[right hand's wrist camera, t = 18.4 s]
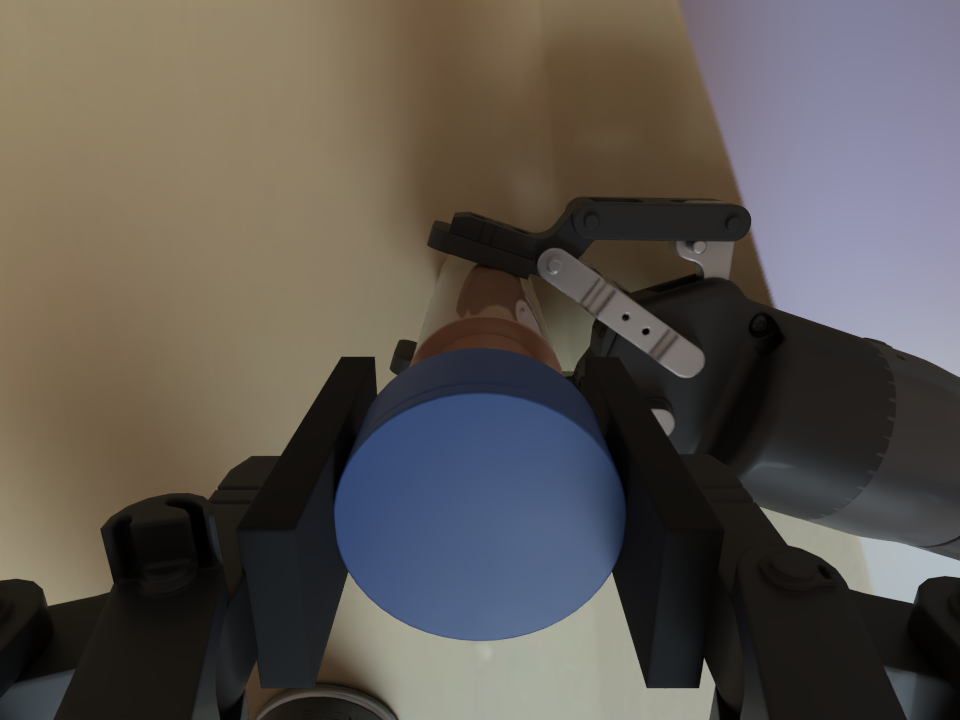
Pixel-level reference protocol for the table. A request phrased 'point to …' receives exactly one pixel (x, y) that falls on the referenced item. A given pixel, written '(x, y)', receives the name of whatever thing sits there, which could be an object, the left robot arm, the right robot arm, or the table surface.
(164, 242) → the table surface
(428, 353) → the bottle
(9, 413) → the table surface
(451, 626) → the lid
